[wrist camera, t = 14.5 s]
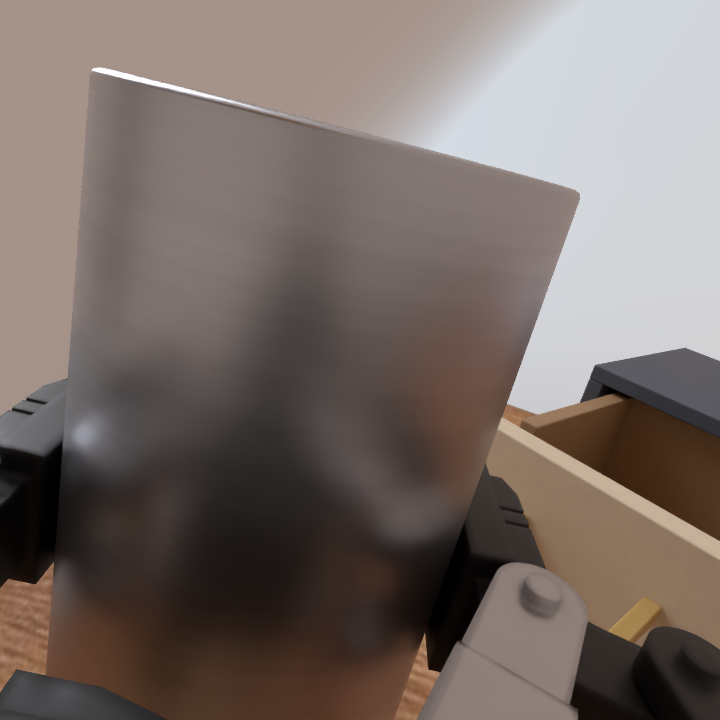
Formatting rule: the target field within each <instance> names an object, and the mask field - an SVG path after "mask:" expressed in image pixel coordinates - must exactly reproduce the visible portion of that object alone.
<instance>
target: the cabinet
mask: <svg viewBox="0 0 720 720" xmlns="http://www.w3.org/2000/svg"><path fill="white" fill-rule="evenodd" d="M590 378H591V379H590V380H589V382H588V384H587V386H586V389H585V391H584V394H583V396H582V399H581V401H580V403H582V402H585V401H589V400H592V399H596V398H599V397H603V396H606V395H610V394H613V393H617V392H621V393H623V394H625V395H627V396H630V397H632V398H634V399H636V400H638V401H640V402H643V403H645V404H647V405H649V406H651V407H653V408H655V409H658V410H660V411H662V412H664V413H666V414H668V415H671V416H673V417H675V418H677V419H679V420H681V421H684V422H686V423H688V424H690V425H692V426H694V427H696V428H699V429H701V430H703V431H705V432H707V433H709V434H712V435H714V436H716V437H718V438H720V361H718V360H715V359H713V358H710V357H708V356H705V355H702V354H700V353H697V352H694V351H692V350H689V349H687V348H682V349H677V350H671V351H667V352H661V353H656V354H651V355H645V356H640V357H635V358H630V359H624V360H619V361H614V362H608V363H603V364H598V365H595V367H594V369H593V372H592V374H591V376H590Z"/></svg>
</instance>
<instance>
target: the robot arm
mask: <svg viewBox="0 0 720 720" xmlns="http://www.w3.org/2000/svg"><path fill="white" fill-rule="evenodd" d="M67 380H68V378H67V379H64V380H61V381H58V382H54V383H51V384H48V385H45V386H43V387H41V388H40V389H38V390H37V391H36V392H34V393H33V394H31V395H30V396H28V397H27V399H26V401H25V400H23V401H21V402H20V403H18V404H17V405H16V406H14V407H13V408H12V411H9V410H8V411H7V412H6V413H4V414H3V415H1V416H0V588H1V586H2V585H3V584H4V583H5V582H6V581H7V579H12V580H17V581H22V582H27V583H31V584H36V583H37V582H38V581H39V579H40V578H41V577H42V576H43V574H44V573H45V572H46V571H47V569H48V568H49V567H50V566H51V564H52V563H53V562H54V558H55V544H56V530H57V517H58V503H59V489H60V476H61V462H62V449H63V435H64V421H65V408H66V394H67ZM523 513H524V511H523V508H522V505H521V503H520V500H519V498H518V495H517V494H516V493H515V492H514V491H513V490H512V488H511V487H510V486H509V485H508V484H507V483H506V482H505V481H504V480H503V479H502V478H500V477H496V476H491V475H490V474H489V471H488V468H487V465H486V463H485V466H484V468H483V471H482V474H481V477H480V480H479V482H478V485H477V488H476V491H475V494H474V496H473V499H472V502H471V505H470V508H469V510H468V513H467V516H466V519H465V521H464V524H463V527H462V530H461V533H460V535H459V538H458V541H457V544H456V547H455V549H454V552H453V555H452V558H451V561H450V563H449V566H448V569H447V572H446V575H445V577H444V580H443V583H442V586H441V589H440V591H439V594H438V597H437V600H436V603H435V605H434V608H433V611H432V614H431V617H430V619H429V622H428V625H427V628H426V630H425V636H426V648H427V659H428V669H429V670H433V671H438V672H441V673H440V675H439V677H438V679H437V681H436V683H435V685H434V687H433V689H432V690H431V692H430V694H429V696H428V698H427V700H426V702H425V704H424V706H423V708H422V710H421V712H420V714H419V716H418V718H417V720H720V649H718V648H717V647H716V646H714V645H713V644H711V643H710V642H708V641H706V640H705V639H703V638H701V637H699V636H697V635H695V634H693V633H690V632H688V631H685V630H682V629H679V628H674V627H667V626H662V627H657V628H654V629H652V630H651V631H650V632H649V634H648V636H647V637H646V639H645V641H644V643H643V645H642V647H641V646H639V645H637V644H635V643H632V642H630V641H628V640H626V639H624V638H621V637H619V636H617V635H615V634H612V633H610V632H608V631H606V630H604V629H602V628H600V627H598V626H596V625H594V624H592V623H591V622H589V621H588V611H587V607H586V605H585V603H584V601H583V600H582V598H581V596H580V595H579V594H578V593H577V592H576V590H575V589H574V588H573V587H572V586H571V585H569V584H568V583H567V582H566V581H564V580H563V579H562V578H560V577H559V576H557V575H555V574H554V573H552V572H550V571H548V570H546V567H545V564H544V562H543V559H542V557H541V554H540V552H539V549H538V546H537V544H536V541H535V539H534V536H533V534H532V531H531V529H529V523H528V521H527V518H526V516H525V515H523ZM0 720H167V719H165V718H163V717H161V716H159V715H157V714H155V713H153V712H151V711H149V710H147V709H145V708H143V707H141V706H139V705H137V704H135V703H133V702H131V701H129V700H127V699H125V698H123V697H121V696H119V695H117V694H115V693H113V692H111V691H109V690H107V689H105V688H103V687H99V686H94V685H89V684H85V683H80V682H75V681H70V680H65V679H60V678H55V677H51V676H46V675H41V674H36V673H31V672H26V671H21V670H17V669H16V671H15V672H14V674H13V675H12V677H11V678H10V679H9V681H8V682H7V684H6V685H5V687H4V688H3V689H2V691H1V692H0Z"/></svg>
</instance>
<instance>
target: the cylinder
mask: <svg viewBox="0 0 720 720" xmlns="http://www.w3.org/2000/svg"><path fill="white" fill-rule="evenodd" d="M579 200H580V194H579V193H578V192H577V191H576V190H573V189H570V188H567V187H563V186H560V185H557V184H553V183H550V182H546V181H543V180H539V179H535V178H532V177H528V176H525V175H521V174H517V173H514V172H510V171H506V170H502V169H499V168H495V167H491V166H487V165H484V164H480V163H477V162H473V161H469V160H465V159H461V158H458V157H454V156H450V155H446V154H442V153H439V152H435V151H431V150H427V149H424V148H420V147H416V146H412V145H408V144H405V143H401V142H397V141H393V140H389V139H385V138H381V137H377V136H373V135H370V134H366V133H362V132H358V131H354V130H351V129H347V128H343V127H339V126H335V125H331V124H327V123H323V122H320V121H315V120H312V119H308V118H304V117H300V116H296V115H292V114H288V113H284V112H281V111H277V110H273V109H268V108H264V107H261V106H257V105H252V104H249V103H245V102H241V101H237V100H233V99H229V98H225V97H221V96H217V95H213V94H209V93H205V92H201V91H197V90H193V89H189V88H185V87H181V86H176V85H173V84H168V83H164V82H160V81H156V80H152V79H148V78H144V77H140V76H135V75H130V74H127V73H122V72H118V71H113V70H109V69H104V68H94V69H92V71H91V73H90V82H89V94H88V108H87V122H86V136H85V149H84V164H83V176H82V190H81V203H80V217H79V230H78V244H77V258H76V272H75V285H74V299H73V312H72V327H71V340H70V353H69V354H70V355H69V367H68V380H67V394H66V408H65V421H64V435H63V449H62V462H61V476H60V489H59V503H58V517H57V530H56V544H55V558H54V571H53V585H52V598H51V612H50V626H49V639H48V653H47V667H46V676H51V677H55V678H60V679H65V680H70V681H75V682H80V683H85V684H89V685H94V686H99V687H103V688H105V689H107V690H109V691H111V692H113V693H115V694H117V695H119V696H121V697H123V698H125V699H127V700H129V701H131V702H133V703H135V704H137V705H139V706H141V707H143V708H145V709H147V710H149V711H151V712H153V713H155V714H157V715H159V716H161V717H163V718H165V719H167V720H394V717H395V714H396V712H397V709H398V706H399V703H400V700H401V698H402V695H403V692H404V689H405V686H406V684H407V681H408V678H409V675H410V672H411V670H412V667H413V664H414V661H415V658H416V656H417V653H418V650H419V647H420V644H421V642H422V639H423V636H424V633H425V630H426V628H427V625H428V622H429V619H430V617H431V614H432V611H433V608H434V605H435V603H436V600H437V597H438V594H439V591H440V589H441V586H442V583H443V580H444V577H445V575H446V572H447V569H448V566H449V563H450V561H451V558H452V555H453V552H454V549H455V547H456V544H457V541H458V538H459V535H460V533H461V530H462V527H463V524H464V521H465V519H466V516H467V513H468V510H469V508H470V505H471V502H472V499H473V496H474V494H475V491H476V488H477V485H478V482H479V480H480V477H481V474H482V471H483V468H484V466H485V463H486V460H487V457H488V454H489V452H490V449H491V446H492V443H493V440H494V438H495V435H496V432H497V429H498V426H499V424H500V421H501V418H502V415H503V413H504V410H505V407H506V404H507V401H508V399H509V396H510V393H511V390H512V387H513V385H514V382H515V379H516V376H517V373H518V371H519V368H520V365H521V362H522V359H523V356H524V354H525V351H526V348H527V345H528V343H529V340H530V337H531V334H532V331H533V329H534V326H535V323H536V320H537V318H538V315H539V312H540V309H541V306H542V304H543V301H544V298H545V295H546V292H547V290H548V287H549V284H550V281H551V278H552V276H553V273H554V270H555V267H556V264H557V262H558V259H559V256H560V253H561V250H562V247H563V245H564V242H565V239H566V236H567V234H568V231H569V228H570V225H571V223H572V220H573V217H574V214H575V211H576V208H577V206H578V203H579Z"/></svg>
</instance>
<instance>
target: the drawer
mask: <svg viewBox="0 0 720 720" xmlns="http://www.w3.org/2000/svg"><path fill="white" fill-rule="evenodd" d="M486 465H487V468H488V471H489V474H490V475H491V476H496V477H500V478H502V479H503V480H504V481H505V482H506V483H507V484H508V485H509V486H510V487H511V488H512V490H513V491H514V492H515V493H516V494H517V495H518V498H519V500H520V503H521V505H522V508H523V511H524V513H523V515H525V516H526V518H527V521H528V523H529V529H531V531H532V534H533V536H534V539H535V541H536V544H537V546H538V549H539V552H540V554H541V557H542V559H543V562H544V564H545V567H546V570H548V571H550V572H552V573H554V574H555V575H557V576H559V577H560V578H562V579H563V580H564V581H566V582H567V583H568V584H569V585H571V586H572V587H573V588H574V589H575V590H576V592H577V593H578V594H579V595H580V596H581V598H582V600H583V601H584V603H585V605H586V607H587V611H588V621H589V622H591V623H592V624H594V625H596V626H598V627H600V628H602V629H604V630H606V631H608V632H610V633H612V634H615V635H617V636H619V637H621V638H624V639H626V640H628V641H630V642H632V643H635V644H637V645H639V646H641V647H642V645H643V643H644V641H645V639H646V637H647V636H648V634H649V632H650V631H651V630H652V629H654V628H657V627H662V626H667V627H674V628H679V629H682V630H685V631H688V632H690V633H693V634H695V635H697V636H699V637H701V638H703V639H705V640H706V641H708V642H710V643H711V644H713V645H714V646H716V647H717V648H718V649H720V438H718V437H716V436H714V435H712V434H709V433H707V432H705V431H703V430H701V429H699V428H696V427H694V426H692V425H690V424H688V423H686V422H684V421H681V420H679V419H677V418H675V417H673V416H671V415H668V414H666V413H664V412H662V411H660V410H658V409H655V408H653V407H651V406H649V405H647V404H645V403H643V402H640V401H638V400H636V399H634V398H632V397H630V396H627V395H625V394H623V393H621V392H617V393H613V394H610V395H606V396H603V397H599V398H596V399H592V400H589V401H585V402H582V403H578V404H575V405H571V406H568V407H564V408H561V409H557V410H553V411H550V412H546V413H543V414H539V415H536V416H532V417H529V418H525V419H523V420H522V421H521V424H520V427H518V426H516V425H515V424H513V423H511V422H509V421H507V420H506V419H504V418H501V421H500V424H499V426H498V429H497V432H496V435H495V438H494V440H493V443H492V446H491V449H490V452H489V454H488V457H487V460H486Z"/></svg>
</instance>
